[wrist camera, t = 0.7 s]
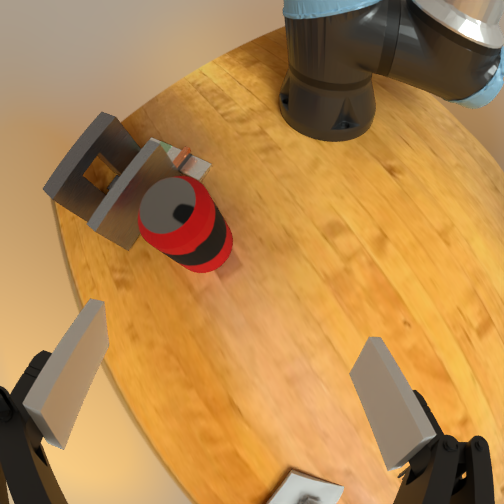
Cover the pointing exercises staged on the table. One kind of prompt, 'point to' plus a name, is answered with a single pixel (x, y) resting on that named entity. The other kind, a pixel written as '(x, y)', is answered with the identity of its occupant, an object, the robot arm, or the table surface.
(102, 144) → the gauge bed
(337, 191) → the table surface
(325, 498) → the grey flat angular piece
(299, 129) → the robot arm
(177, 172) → the grey block
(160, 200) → the soda can
